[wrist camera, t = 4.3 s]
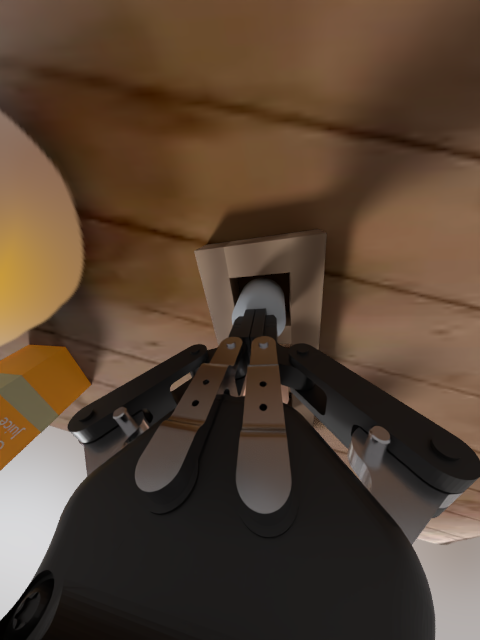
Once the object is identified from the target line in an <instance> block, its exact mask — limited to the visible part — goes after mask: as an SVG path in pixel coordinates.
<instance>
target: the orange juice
mask: <svg viewBox="0 0 480 640" xmlns="http://www.w3.org/2000/svg"><path fill="white" fill-rule="evenodd" d="M90 385H91V383H90V382H89V380H88V379H87V377H86V376H85V375H84V373H83V372H82V370H81V369H80V367H79V366H78V364H77V363H76V361H75V360H74V359H73V357H72V356H71V354H70V353H69V351H68V350H67V348H66V347H60V346H43V345H28V346H26V347H24V348H22V349H20V350H19V351H17V352H15V353H13V354H11V355H9V356H8V357H6V358H4V359H2V360H0V470H2V469H3V468H4V467H5V466H6V465H7V464H8V463H9V462H10V461H11V460H12V459H13V458H14V457H15V456H16V455H17V454H18V453H20V452H21V451H22V450H23V449H24V448H25V447H26V446H27V445H28V444H29V443H30V442H31V441H32V440H33V439H34V438H35V437H36V436H38V435H39V434H40V433H41V432H42V431H43V430H44V429H45V428H47V427H48V426H49V425H50V424H51V423H52V422H53V421H54V420H55V419H56V418H57V417H58V416H59V415H60V414H61V413H62V412H63V411H64V410H65V409H66V408H67V407H68V406H69V405H70V404H71V403H72V402H74V401H75V400H76V399H77V398H78V397H79V396H80V395H81V394H82V393H83V392H84V391H85V390H86V389H87V388H88V387H89V386H90Z"/></svg>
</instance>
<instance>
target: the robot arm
mask: <svg viewBox="0 0 480 640" xmlns="http://www.w3.org/2000/svg"><path fill="white" fill-rule="evenodd" d="M189 372H190V373H191V376H192V378H191V379H190V380H188V381H187V382H185V383H184V384H182V385H181V386H179V387H178V388H176V389H175V390H173V391H171V392H170V387H171V385H172V384H173V383H174V382H175V381H177V380H179V379H180V378H182V377H183V376H185V375H186V374H188V373H189ZM281 385H284V386H287V387H290V391H291V392H292V393H293V394H294V395H295V396H296V397H297V398H298V399H299V400H300V401H301V402H302V403H303V404H304V405H305V406H306V407H307V408H308V409H309V410H310V411H311V412H312V413H313V414H314V415H315V416H316V417H317V418H318V419H319V420H320V421H321V422H322V423H323V424H324V425H325V426H326V427H327V428H328V429H329V430H330V431H331V432H332V433H333V434H334V435H335V436H336V437H337V438H338V439H339V440H340V441H341V442H342V443H343V444H344V445H345V446H346V447H347V448H348V449H349V450H348V460H349V463H350V465H351V467H352V469H353V470H354V472H355V473H356V474H357V476H358V477H359V478H360V480H361V481H360V480H359V479H358V478H357V477H356V476H355V475H354V473H353V472H352V471H351V470H350V469H349V468H348V467H347V465H346V464H345V463H344V462H343V461H342V460H341V459H340V457H339V456H338V455H337V454H336V453H335V452H334V451H333V449H332V448H331V447H330V446H329V445H328V444H327V443H326V441H325V440H324V439H323V438H322V437H321V436H320V435H319V433H318V432H317V431H316V430H315V429H314V428H313V427H312V425H311V424H310V423H309V422H308V421H307V420H306V419H305V418H304V416H303V415H302V414H301V413H299V412H298V411H297V410H296V409H294V408H293V407H291V406H289V405H288V404H285V403H283V401H282V392H281ZM245 387H246V390H245ZM244 390H245V396H243V394H244ZM68 430H69V431H70V432H71V433H72V434H73V435H74V436H75V437H76V438H77V439H78V441H79V442H80V444H82V445H83V446H84V451H85V459H86V469H87V478H86V479H85V480H84V481H83V482H82V483H81V484H80V485H79V487H78V488H77V489H76V490H75V492H74V493H73V495H72V496H71V498H70V499H69V501H68V503H67V505H66V506H65V508H64V510H63V513H62V515H61V517H60V520H59V523H58V525H57V528H56V531H55V534H54V536H53V539H52V541H51V544H50V546H49V548H48V550H47V553H46V555H45V557H44V559H43V561H42V563H41V565H40V567H39V568H38V571H37V572H36V574H35V576H34V578H33V580H32V582H31V583H30V584H29V586H28V587H27V589H26V590H25V592H24V593H23V594H22V596H21V597H20V599H19V600H18V601H17V602H16V604H15V605H14V606H13V608H12V609H11V610H10V611H9V612H8V613H7V614H6V615H5V616H4V617H3V619H2V620H1V621H0V640H435V614H434V606H433V600H432V596H431V592H430V588H429V584H428V581H427V578H426V575H425V573H424V570H423V568H422V565H421V563H420V561H419V559H418V556H417V554H416V552H415V551H414V549H413V547H412V544H413V542H414V541H415V540H416V539H417V537H418V536H419V534H420V533H421V532H422V530H423V529H424V528H425V526H426V525H427V523H428V522H429V521H430V519H431V518H435V517H437V516H439V515H440V514H441V513H442V512H443V511H444V510H445V509H446V508H447V507H448V506H449V505H451V504H452V503H453V502H454V501H455V500H456V499H457V498H458V497H459V496H460V495H461V494H462V493H463V492H464V491H465V490H466V489H467V488H468V487H470V486H471V485H472V484H473V483H474V482H475V481H476V480H477V479H478V478H479V477H480V460H479V458H478V456H477V455H476V454H475V452H474V451H473V450H472V449H471V448H470V447H469V446H468V445H467V444H466V443H464V442H463V441H462V440H461V439H459V438H458V437H456V436H455V435H453V434H451V433H450V432H448V431H447V430H445V429H443V428H442V427H440V426H439V425H437V424H435V423H434V422H432V421H431V420H429V419H428V418H426V417H424V416H423V415H421V414H420V413H418V412H416V411H415V410H413V409H412V408H410V407H408V406H407V405H405V404H404V403H402V402H400V401H399V400H397V399H396V398H394V397H392V396H391V395H389V394H388V393H386V392H385V391H383V390H381V389H380V388H378V387H377V386H375V385H373V384H372V383H370V382H369V381H367V380H365V379H364V378H362V377H361V376H359V375H357V374H356V373H354V372H353V371H351V370H349V369H348V368H346V367H345V366H343V365H342V364H340V363H338V362H337V361H335V360H334V359H332V358H330V357H329V356H327V355H326V354H324V353H322V352H321V351H319V350H318V349H316V348H314V347H313V346H311V345H309V344H305V343H298V344H294V345H292V346H291V347H290V348H285V347H282V346H281V345H279V344H278V333H277V318H276V317H275V316H274V315H267V310H266V308H263V309H246V310H245V313H244V316H239V317H238V318H237V319H235V321H234V323H233V326H232V329H231V331H230V334H229V337H228V338H226V339H224V340H223V341H222V342H221V343H220V345H219V346H218V348H215V349H211V350H207V348H206V346H205V345H202V344H197V345H193V346H191V347H189V348H187V349H185V350H184V351H182V352H180V353H178V354H177V355H175V356H173V357H171V358H170V359H168V360H166V361H164V362H163V363H161V364H159V365H157V366H156V367H154V368H152V369H150V370H149V371H147V372H145V373H143V374H142V375H140V376H138V377H136V378H135V379H133V380H131V381H129V382H128V383H126V384H124V385H122V386H121V387H119V388H117V389H115V390H114V391H112V392H110V393H108V394H107V395H105V396H103V397H101V398H100V399H98V400H96V401H94V402H93V403H91V404H89V405H87V406H86V407H84V408H82V409H81V410H80V411H78V412H77V413H76V414H75V415H74V416H73V417H72V419H71V420H70V422H69V424H68Z"/></svg>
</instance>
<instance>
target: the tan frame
mask: <svg viewBox="0 0 480 640" xmlns="http://www.w3.org/2000/svg"><path fill="white" fill-rule="evenodd" d="M326 238H327V233H326V232H324V231H322V230H320V229H316V230H308V231H301V232H294V233H287V234H280V235H273V236H266V237H259V238H252V239H244V240H237V241H230V242H223V243H216V244H209V245H205V246H203V247H201V248H199V249H197V250H195V251H194V253H195V256H196V260H197V264H198V268H199V272H200V276H201V280H202V284H203V288H204V291H205V295H206V299H207V303H208V307H209V311H210V315H211V319H212V323H213V326H214V330H215V334H216V338H217V342H218V346H219V345H220V343H221V342H222V341H223V340H224V339H226V338H228V337H229V334H230V331H231V329H232V326H233V324H232V313H233V310H234V308H235V305H236V303H237V301H238V299H239V296H240V291H239V284H238V278H237V277H246V276H257V275H267V274H278V273H288V272H289V309H290V311H285V314H286V324H285V328H284V330H283V332H282V333H281V334H280V335H279V336H278V344H290V347H291V346H292V345H294V344H298V343H305V344H309V345H311V346H313V347H314V348H316V349H318V350H319V337H320V323H321V309H322V295H323V281H324V267H325V252H326ZM288 392H291V391H290V387H288ZM291 397H292V399H291V398H289V401H288V405H289V406H291V407H293V408H294V409H296V410H297V411H298V412H299V413H301V414H302V415H303V416H304V418H305V419H306V420H307V421H308V422H309V423H310V424H311V425H312V427H313V423H314V414H313V413H312V412H311V411H310V410H309V409H308V408H307V407H306V406H305V405H304V404H303V403H302V402H301V401H300V400H299V399H298V398H297V397H296V396H295V395H294V394H293V393H292V392H291Z"/></svg>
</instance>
